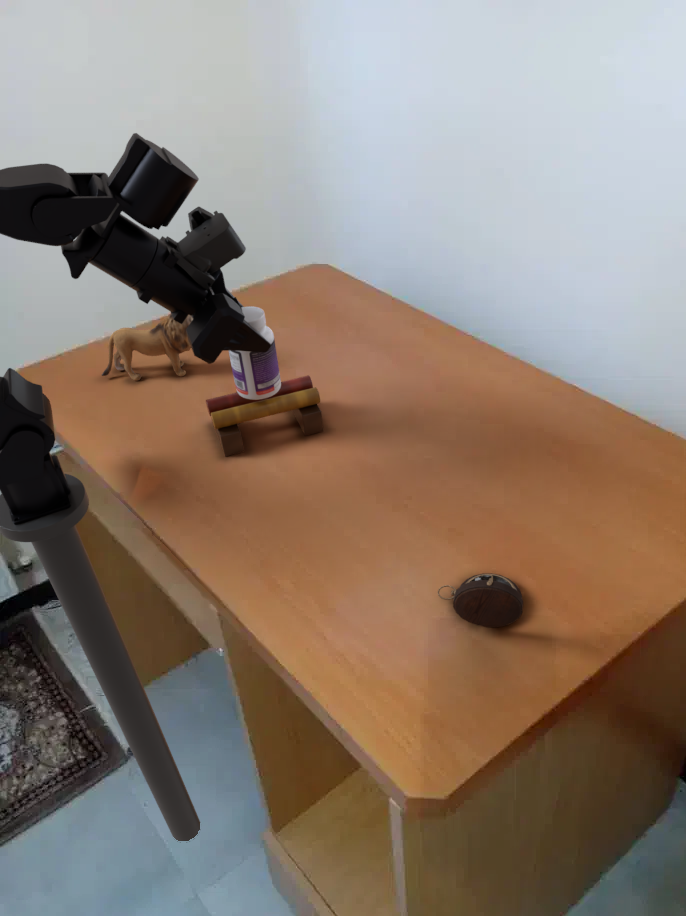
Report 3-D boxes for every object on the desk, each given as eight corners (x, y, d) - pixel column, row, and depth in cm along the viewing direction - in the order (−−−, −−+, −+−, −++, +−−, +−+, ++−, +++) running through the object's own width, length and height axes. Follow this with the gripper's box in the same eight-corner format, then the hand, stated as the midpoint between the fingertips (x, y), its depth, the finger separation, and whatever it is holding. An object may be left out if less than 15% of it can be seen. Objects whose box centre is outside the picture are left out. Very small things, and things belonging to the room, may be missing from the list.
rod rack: (222, 457, 94) (214, 423, 91) (210, 426, 99) (202, 392, 96) (326, 430, 98) (322, 396, 94) (309, 402, 102) (305, 368, 99)
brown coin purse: (522, 581, 77) (528, 526, 72) (519, 644, 72) (525, 589, 67) (441, 574, 79) (441, 520, 74) (431, 635, 73) (430, 581, 68)
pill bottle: (285, 377, 96) (274, 302, 90) (277, 401, 92) (265, 326, 86) (241, 376, 97) (228, 302, 90) (231, 400, 93) (217, 325, 86)
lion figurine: (209, 354, 113) (196, 295, 107) (211, 373, 109) (197, 313, 103) (103, 370, 111) (84, 310, 105) (102, 389, 107) (81, 329, 101)
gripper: (205, 229, 71) (331, 317, 82) (170, 167, 84) (282, 249, 95) (138, 326, 75) (267, 398, 85) (114, 252, 88) (228, 322, 98)
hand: (262, 337), depth 90 cm, fingers closed on pill bottle, 5 cm apart
